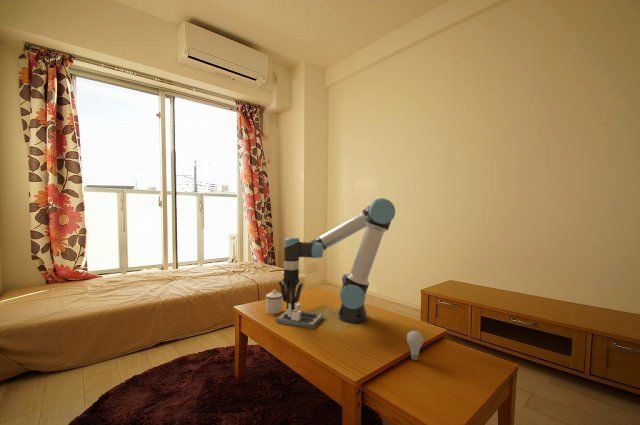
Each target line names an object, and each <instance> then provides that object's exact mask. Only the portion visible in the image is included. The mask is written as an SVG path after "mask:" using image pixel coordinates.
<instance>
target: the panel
mask: <svg viewBox="0 0 640 425" xmlns="http://www.w3.org/2000/svg"><path fill="white" fill-rule="evenodd" d="M300 311H301V319H300V320H299V321H295V320H291V317H288V315H287V310H286V311H285V312H283V313H281V314H280V315H279V316H277V317H276V318H275V323H277V324H283V325H287V326H288V325H289V326H292V327H293V326H294V327H299V328H305V329H309V330H311V329H312V330H314V329H315V328H316V327H317V325H318V324H320V322H321V321H322V320H323V319H324V314H323V313H315V312H311V311H304V310H300Z"/></svg>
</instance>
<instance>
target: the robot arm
mask: <svg viewBox="0 0 640 425" xmlns="http://www.w3.org/2000/svg"><path fill="white" fill-rule="evenodd" d="M395 216H396V207H395V204H394V203H393V202H392V201H390V200H389V199H387V198H383V197H382V198H376V199H374V200H373V201H372V202H371V204H370V205H368V206H367V207H366V208H364V209H362V210H361V212H360V213H359V214H357V215H355V216H354V217H352V218H350V219H348V220H347V221H345V222H343V223H342V224H339V225H338V226H336V227H334V228H332V229H330V230H329V231H327V232H326V233H324V234H321V235H320V236H318V237H316V238H315V239H313V240H311V241H305V242H303V241H300V238H299V237H286V238H285V239H284V245H283V249H284V251H283V278H282V280H281V281H279V282H278V284H279V286H280V291H281V294H282V301H283V302H285V303H286V310H287V309H288V317H291V312H292V311H293V310H294V309H295V303H298V302H299V301H300V296H301V292H302V289H303V287H304V283H303V282H300V277H299V275H300V269H299V268H300V258H310V259H311V258H312V259H313V258H314V259H319V258H323V256H324V255H323V254H324V251H325V250H327V249H329V248H330V247H332V246H334V245H336V244H338V243H340V242H342V241H343V240H345V239H347V238H349V237H350V236H352V235H354V234H356V233H357V232H360V231H361V230H364V233H363V236H362V238H361V241H360V245H359V248H358V250H357V253H356V256H355V259H354V261H353V264H352V267H351V271H350V272H349V273H344V274H343V275H342V278H341V280H342V281H341V282H342V283H341V290H340V292H339V299H340V301H341V304H340V307H339V309H338V315H337V317H338V319H339V320H341V321H342V322H346V323H352V324H355V323H356V324H357V323H363V322H365V321H367V320H368V313H367V310H366V306H365V301H366V294H367V292H368V288H369V286H370V283H369V276H370V273H371V270H372V268H373V265H374V262H375V259H376V256H377V253H378V250H379V247H380V246H381V245H380V244H381V242H382V239H383V237H384V236H383V235H384V233H386V232H388V231H389V228H390V226H391V223H392V221H393V219H394V218H395ZM296 288H297V290H296Z"/></svg>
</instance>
